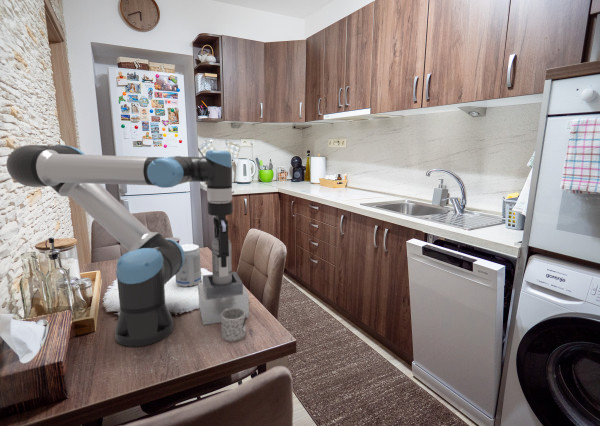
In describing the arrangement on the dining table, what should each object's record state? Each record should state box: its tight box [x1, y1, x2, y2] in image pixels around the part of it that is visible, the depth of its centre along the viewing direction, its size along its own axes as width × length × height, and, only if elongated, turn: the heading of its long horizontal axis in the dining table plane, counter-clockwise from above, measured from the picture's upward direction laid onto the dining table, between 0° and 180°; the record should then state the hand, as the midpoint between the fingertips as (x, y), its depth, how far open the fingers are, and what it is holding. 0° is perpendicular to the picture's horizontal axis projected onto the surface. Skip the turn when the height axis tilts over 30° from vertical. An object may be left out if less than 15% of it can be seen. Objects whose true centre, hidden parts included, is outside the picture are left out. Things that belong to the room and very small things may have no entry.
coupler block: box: [197, 271, 250, 326], centre depth 107 cm, size 14×14×11 cm
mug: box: [220, 308, 246, 342], centre depth 95 cm, size 10×7×7 cm, turn 32°
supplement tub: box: [175, 243, 202, 288], centre depth 129 cm, size 10×10×15 cm
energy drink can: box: [211, 237, 233, 285], centre depth 105 cm, size 6×6×15 cm
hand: (221, 272), depth 105 cm, fingers closed on energy drink can, 6 cm apart
